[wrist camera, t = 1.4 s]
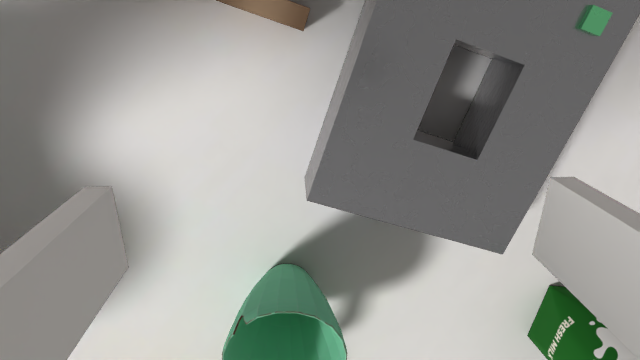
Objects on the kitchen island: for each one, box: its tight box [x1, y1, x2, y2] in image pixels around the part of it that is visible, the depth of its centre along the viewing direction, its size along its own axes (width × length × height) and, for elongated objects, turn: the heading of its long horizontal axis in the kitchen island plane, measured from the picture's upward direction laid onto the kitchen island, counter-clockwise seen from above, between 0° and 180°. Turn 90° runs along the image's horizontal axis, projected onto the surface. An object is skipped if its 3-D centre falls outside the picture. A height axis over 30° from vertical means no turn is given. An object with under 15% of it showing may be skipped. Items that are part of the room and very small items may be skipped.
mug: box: [222, 264, 347, 360], centre depth 37 cm, size 15×10×10 cm
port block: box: [305, 0, 640, 254], centre depth 32 cm, size 18×22×5 cm
